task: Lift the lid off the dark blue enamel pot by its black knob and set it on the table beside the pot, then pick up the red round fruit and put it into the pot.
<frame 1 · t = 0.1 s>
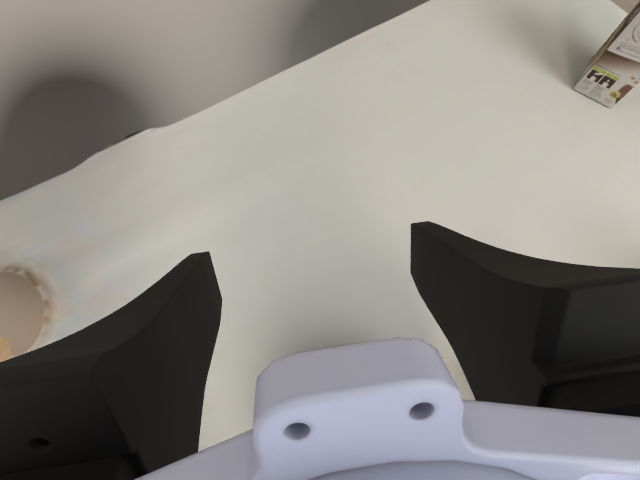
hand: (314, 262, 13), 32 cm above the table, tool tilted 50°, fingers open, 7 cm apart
coffee box: (601, 81, 58), on the table
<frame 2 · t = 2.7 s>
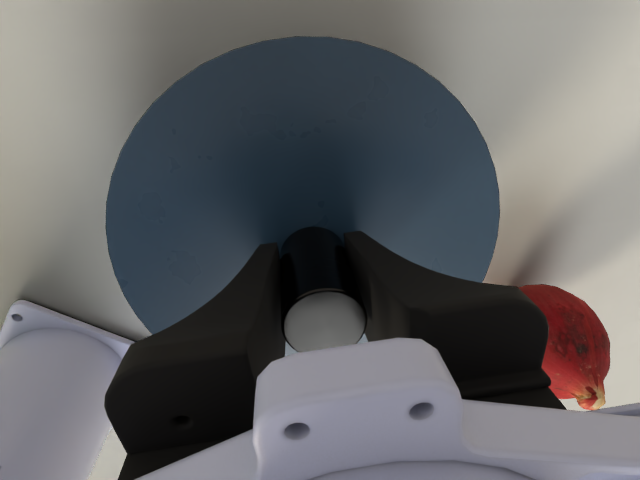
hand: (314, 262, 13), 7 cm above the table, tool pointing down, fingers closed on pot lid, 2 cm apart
pot lid: (311, 248, 14), point 6 cm above the table, touching gripper, pot
red round fruit: (504, 297, 24), on the table
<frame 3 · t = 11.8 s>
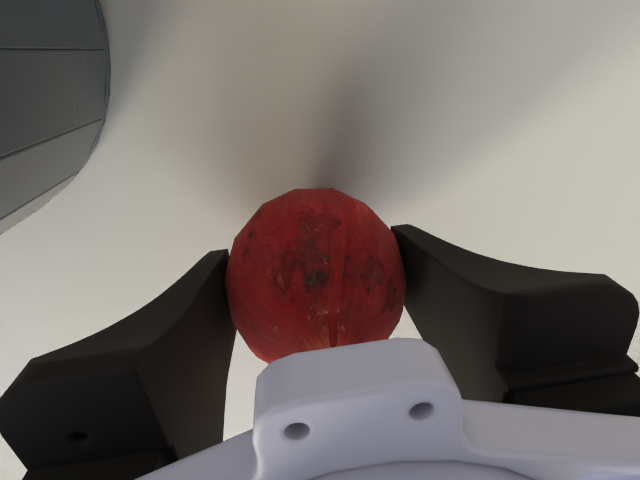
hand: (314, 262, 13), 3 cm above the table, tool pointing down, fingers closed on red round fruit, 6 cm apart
red round fruit: (307, 229, 16), on the table, touching gripper
when the fingers open (3 cm above the table, at t = 17.3 s): red round fruit stays where it is, resting on pot.
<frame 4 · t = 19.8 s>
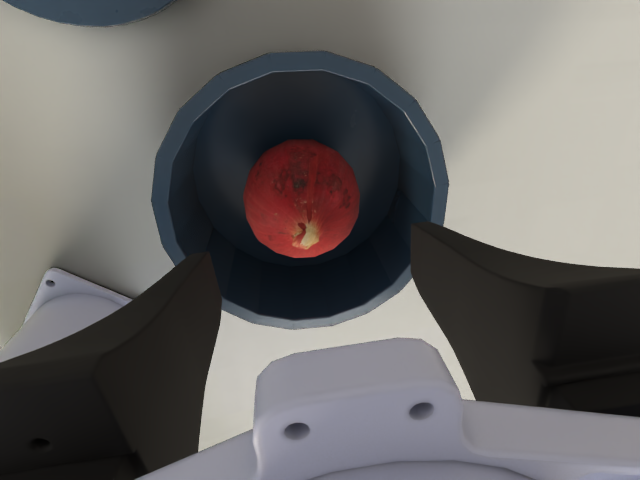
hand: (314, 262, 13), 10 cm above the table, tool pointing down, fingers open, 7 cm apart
pot: (299, 175, 23), on the table
red round fruit: (298, 176, 22), resting on pot
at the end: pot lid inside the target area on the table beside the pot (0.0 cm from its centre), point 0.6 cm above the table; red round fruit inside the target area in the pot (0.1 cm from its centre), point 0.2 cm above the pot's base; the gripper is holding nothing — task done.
